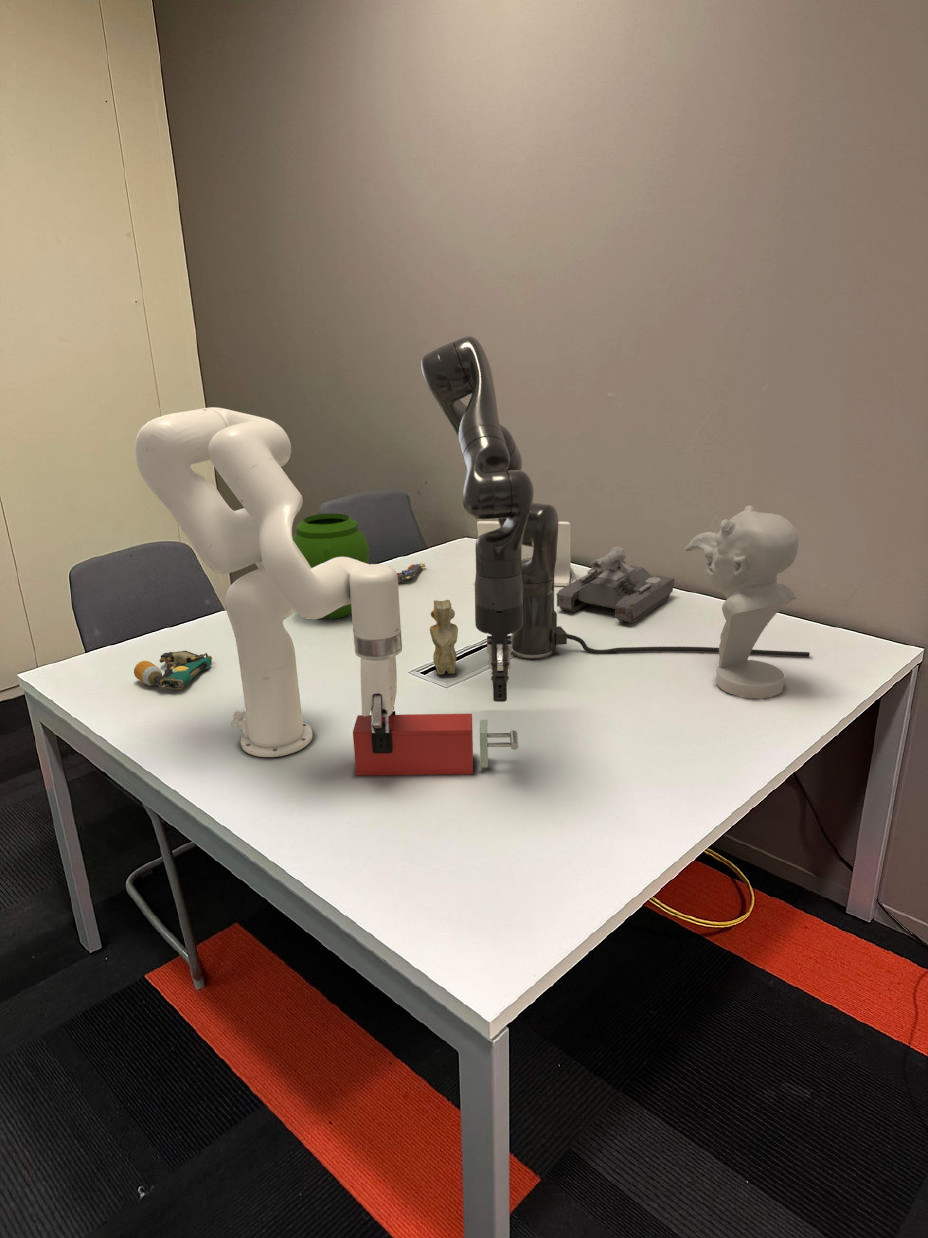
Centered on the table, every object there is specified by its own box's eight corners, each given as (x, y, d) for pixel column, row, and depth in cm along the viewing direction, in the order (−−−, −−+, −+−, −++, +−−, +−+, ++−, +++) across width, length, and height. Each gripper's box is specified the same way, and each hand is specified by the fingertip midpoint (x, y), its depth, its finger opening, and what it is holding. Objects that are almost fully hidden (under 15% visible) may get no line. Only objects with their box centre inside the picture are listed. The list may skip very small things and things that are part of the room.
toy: (603, 584, 229) (605, 530, 224) (673, 597, 218) (677, 540, 213) (555, 612, 210) (556, 553, 205) (630, 627, 199) (633, 566, 194)
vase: (389, 608, 216) (383, 514, 208) (339, 633, 201) (330, 533, 192) (330, 596, 226) (322, 506, 218) (278, 619, 211) (267, 523, 202)
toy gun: (374, 578, 232) (409, 575, 230) (392, 563, 250) (425, 560, 247) (376, 588, 232) (411, 585, 230) (394, 572, 250) (427, 569, 248)
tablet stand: (569, 585, 229) (570, 524, 223) (476, 584, 232) (475, 523, 226) (570, 566, 246) (571, 508, 240) (484, 564, 249) (483, 507, 243)
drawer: (517, 752, 145) (517, 719, 143) (518, 767, 140) (518, 732, 138) (381, 754, 146) (378, 721, 143) (377, 768, 141) (375, 734, 139)
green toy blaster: (177, 659, 191) (231, 671, 185) (120, 684, 176) (176, 698, 171) (176, 641, 190) (230, 653, 184) (118, 665, 175) (174, 678, 169)
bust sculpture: (717, 648, 186) (730, 489, 174) (806, 688, 166) (828, 512, 154) (660, 663, 179) (669, 500, 167) (745, 707, 159) (763, 525, 147)
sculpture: (458, 662, 183) (456, 596, 178) (460, 676, 176) (457, 608, 171) (431, 663, 183) (428, 597, 177) (431, 677, 176) (428, 609, 171)
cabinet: (473, 756, 146) (472, 713, 143) (472, 774, 140) (471, 730, 138) (360, 757, 146) (357, 715, 144) (356, 775, 141) (352, 731, 138)
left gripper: (361, 623, 144) (369, 719, 150) (346, 664, 128) (355, 769, 134) (406, 622, 144) (411, 718, 150) (396, 663, 127) (402, 769, 134)
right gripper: (475, 586, 139) (477, 683, 145) (474, 614, 127) (476, 718, 133) (521, 585, 139) (521, 682, 145) (524, 613, 126) (524, 718, 133)
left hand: (384, 741), depth 142 cm, fingers closed on cabinet, 5 cm apart
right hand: (500, 699), depth 139 cm, fingers closed
